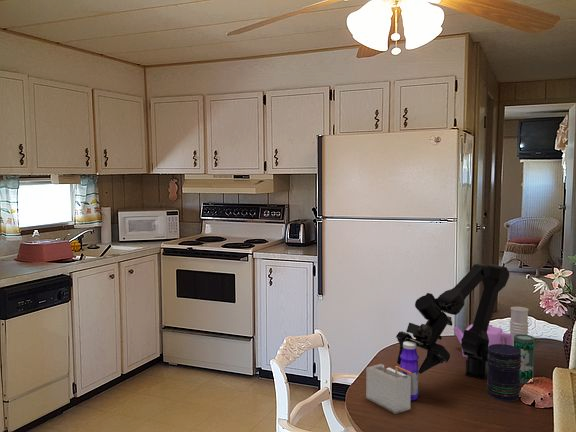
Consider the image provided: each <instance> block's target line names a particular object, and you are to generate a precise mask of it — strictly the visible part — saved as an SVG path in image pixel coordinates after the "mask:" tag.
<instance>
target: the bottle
mask: <svg viewBox="0 0 576 432" xmlns="http://www.w3.org/2000/svg"><path fill="white" fill-rule="evenodd" d="M400 357H401V363H400V366H399V367H400V368H403V369H405V370H407V371H410V372H412V374H408V373H406V372H404V371H402V370H399V372H400V373H403V374H405V375H409V376H410V377H411V396H410V401H416V400H417V399H418V397H419V372H418V371H419V369H420V366H419V358H420V357H419V355H418V352H417V347H416V343H414V342H410V341H407V342H404V343H403V351H402V354H401V355H400Z"/></svg>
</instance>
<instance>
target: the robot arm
mask: <svg viewBox="0 0 576 432" xmlns="http://www.w3.org/2000/svg"><path fill="white" fill-rule="evenodd" d="M509 278H510V272H509V270H508V268H507V267H506V266H501V265H498V264H497V265H496V264H493V263H492V264H490V263H489V264H480V263H475V264H473V265H472V266H471V269H470V270H469V271H468V272H467V273H466V274H465V276H463V278H462V279H461V280H460V281H459V282H458V283H457V284H456V285H455V286H454V287H453V288H450V289H448V290H445V291H444V292H442V293H440V294H439V295H438V297H435V296H434V295H433V293H430V292H426V294H425V295H422V296H420V297H418V298H417V299H416V301H415V303H414V307H415V309H417V311H418V312H419V313H420V314H421V315H422V317H423V318H424V319H425V320H426V323H424V324H423V323H421V324H420V325H418V324H415V323H412V322H408V324H407V325H408V326H407V328H406V332H405V331H402V330H401V331H399V332H398V333H397V334H396V336H395V338H396V339H397V342H398V343H399V352H398V356H397V361H396V364H397V365H400V363H401V357H400V355H401V354H402V351H403V343H404V342H407V341H410V342H414V343H416V348H419V349H421V350H425V351H426V357H425V359H424V360H423V361H422V364H421V365H420V366H419V368H418V374H419V375H421V374H423V373H425V372H426V371H428V370H429V369H432V368H433V367H435V366H437V365H439V364H444V363H446V364H447V363H449V361H450V359H451V353H450V352H449V351H448V350H447V349H446V347H445V346H444V345H442V344H439V343H437V341H438V340H439V341H441V340H442V339H443V337H442V336H441V335H442V334H443V332H444V330H445V329H446V327H447V326H451V327H452V326H453V321H452V317H451V316H449V314H450V315H453V316H456V315H458V314H460V312H461V311H462V309H463V308H464V306H465V301H466V298H468V296H470V294H471V293H472V292H473V291H474V290H475V288H476V287H478V285H479V284H480V283H481V282H482V285H483V288H482V289H483V290H482V292H481V296H480V300H479V302H478V305H477V309H476V313H475V316H474V319H473V322H472V324H473V326H472V327H471V328H470V329H469V330H466V329H465V330H463V337H462V339H461V341H462V342H461V343H460V346H461V350H462V349H463V353H464V355H467V356H468V358H466V360H465V376H469V377H473V378H477V379H485V378H486V379H487V376H488V362H487V361H488V345H489V338H488V335H487V329H488V326H489V325H490V322H491V319H492V314H493V312H494V309H495V306H496V302H497V297H498V296H499V292H500V291H502V290H503V289H504V288H505V287H506V285H507V283H508V280H509ZM447 314H448V315H447ZM411 334H412V335H411Z"/></svg>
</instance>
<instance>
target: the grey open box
mask: <svg viewBox="0 0 576 432" xmlns="http://www.w3.org/2000/svg"><path fill="white" fill-rule="evenodd" d="M365 378H366V381H365V382H366V384H365V385H366V394H365V395H366V400H368V401H371V402H372V403H374V404H376V405H377V406H380V407H381V408H383V409H385V410H387V411H389V412H390V413H392V414H394V415H398V414H401V413H403V412H406V411H409V410H411V400H410V396H411V377H410V376H409V375H404V376H401V377H398V378H396V377H394V376H392V375H389V374H387V373H386V371H385V365H384V364H382V363H378V364H374V365H372V366H371V365H370V366H367V367H366V377H365Z"/></svg>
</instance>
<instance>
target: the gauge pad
mask: <svg viewBox="0 0 576 432" xmlns="http://www.w3.org/2000/svg"><path fill="white" fill-rule="evenodd" d="M398 370H399V371H398ZM400 370H402V371H404V372H406V373H408V374H412V372H410V371H407V370H405V369H403V368H400V366H398V365H396V366H395V367H394V369H393V368H392V367H387V368H385V373H387V374H389V375H392V376H394V377H396V378H398V377H401V376H404V375H405V374H403V373H400Z"/></svg>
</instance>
